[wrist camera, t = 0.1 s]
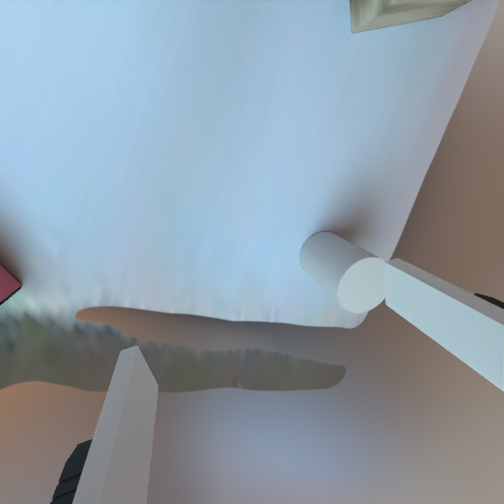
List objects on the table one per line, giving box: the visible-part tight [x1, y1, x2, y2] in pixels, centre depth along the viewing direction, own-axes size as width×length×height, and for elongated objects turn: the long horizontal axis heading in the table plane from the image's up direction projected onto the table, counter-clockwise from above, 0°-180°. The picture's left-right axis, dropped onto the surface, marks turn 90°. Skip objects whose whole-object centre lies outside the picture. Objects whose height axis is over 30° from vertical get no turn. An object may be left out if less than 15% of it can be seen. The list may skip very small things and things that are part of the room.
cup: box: [299, 231, 386, 313], centre depth 40 cm, size 8×8×12 cm
